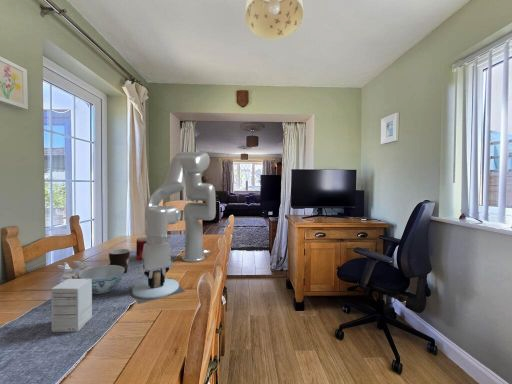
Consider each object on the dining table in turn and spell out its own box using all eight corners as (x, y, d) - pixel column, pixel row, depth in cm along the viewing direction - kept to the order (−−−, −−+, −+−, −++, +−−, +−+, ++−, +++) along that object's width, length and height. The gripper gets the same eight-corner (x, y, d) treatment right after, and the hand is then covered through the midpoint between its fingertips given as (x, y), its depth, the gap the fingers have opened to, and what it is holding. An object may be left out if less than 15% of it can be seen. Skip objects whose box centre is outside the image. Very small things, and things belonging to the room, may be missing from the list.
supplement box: (67, 318, 78) (67, 278, 77) (92, 318, 78) (92, 278, 78) (50, 332, 70) (50, 288, 70) (78, 332, 71) (78, 288, 70)
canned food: (154, 257, 142) (155, 237, 141) (144, 261, 134) (144, 240, 134) (144, 255, 144) (144, 236, 144) (133, 259, 137) (133, 239, 136)
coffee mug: (120, 277, 111) (120, 254, 111) (104, 275, 113) (104, 253, 113) (137, 268, 123) (138, 248, 123) (122, 266, 125) (122, 246, 124)
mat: (170, 279, 111) (170, 277, 111) (185, 292, 97) (185, 291, 97) (127, 288, 100) (128, 286, 100) (138, 305, 87) (138, 303, 87)
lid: (170, 277, 111) (170, 262, 110) (185, 291, 97) (185, 273, 97) (128, 286, 100) (128, 269, 100) (138, 303, 87) (138, 283, 87)
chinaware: (90, 304, 87) (91, 282, 86) (71, 293, 95) (71, 273, 94) (132, 289, 99) (132, 270, 99) (111, 280, 107) (111, 262, 107)
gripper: (174, 235, 106) (173, 278, 107) (131, 240, 96) (131, 287, 97) (181, 239, 100) (180, 284, 101) (136, 244, 90) (136, 294, 91)
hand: (156, 285), depth 99 cm, fingers closed on lid, 3 cm apart
